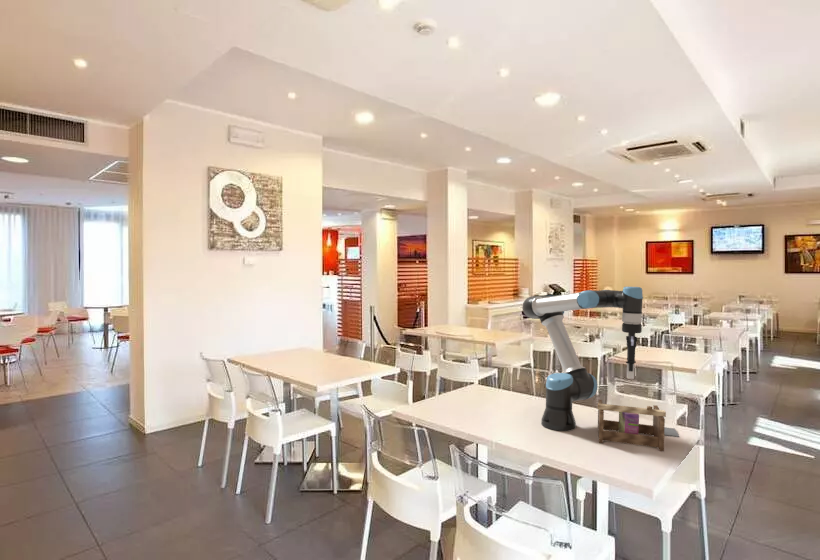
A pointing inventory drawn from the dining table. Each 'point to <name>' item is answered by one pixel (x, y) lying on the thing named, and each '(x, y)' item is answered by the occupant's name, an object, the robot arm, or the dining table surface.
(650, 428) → the toolbox
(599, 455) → the dining table surface
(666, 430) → the mat
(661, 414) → the brown wooden bar
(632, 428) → the box
